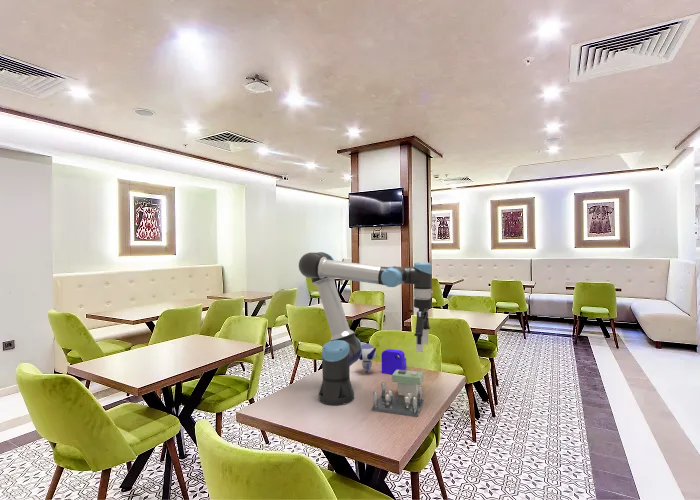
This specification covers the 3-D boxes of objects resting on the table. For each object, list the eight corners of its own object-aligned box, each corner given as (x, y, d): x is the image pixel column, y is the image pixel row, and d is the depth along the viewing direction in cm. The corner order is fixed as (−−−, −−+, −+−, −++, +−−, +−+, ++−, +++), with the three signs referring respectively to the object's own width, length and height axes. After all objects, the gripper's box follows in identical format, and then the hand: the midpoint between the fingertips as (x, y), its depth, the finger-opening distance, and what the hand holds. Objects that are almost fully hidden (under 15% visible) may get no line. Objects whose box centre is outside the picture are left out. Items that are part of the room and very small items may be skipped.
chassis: (371, 410, 146) (371, 393, 146) (381, 397, 159) (381, 381, 159) (417, 416, 139) (417, 399, 139) (423, 402, 152) (423, 386, 153)
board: (392, 382, 160) (392, 373, 160) (396, 376, 168) (396, 367, 168) (419, 385, 156) (419, 376, 156) (423, 378, 164) (423, 370, 164)
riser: (398, 394, 161) (397, 380, 161) (400, 391, 165) (399, 378, 165) (416, 397, 159) (416, 382, 159) (418, 393, 162) (417, 379, 162)
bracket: (401, 376, 186) (401, 353, 186) (381, 373, 191) (381, 350, 191) (413, 366, 201) (413, 345, 201) (394, 364, 207) (394, 342, 207)
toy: (354, 370, 195) (354, 342, 195) (372, 368, 198) (371, 340, 198) (361, 377, 185) (360, 347, 185) (379, 375, 188) (379, 345, 188)
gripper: (426, 302, 147) (426, 356, 147) (435, 295, 170) (435, 341, 170) (407, 301, 149) (407, 354, 149) (419, 294, 173) (418, 340, 172)
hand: (422, 347), depth 160 cm, fingers open, 13 cm apart
